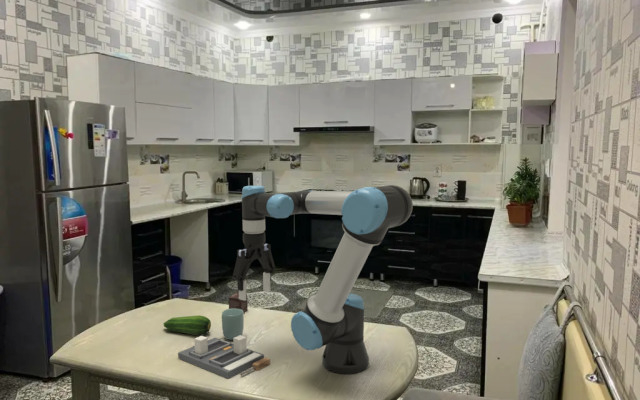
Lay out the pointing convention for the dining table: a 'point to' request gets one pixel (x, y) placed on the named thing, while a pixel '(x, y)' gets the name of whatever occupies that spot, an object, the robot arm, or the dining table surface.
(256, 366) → the screwdriver
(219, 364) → the switch board
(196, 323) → the vegetable
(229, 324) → the cup
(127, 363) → the dining table surface
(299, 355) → the dining table surface
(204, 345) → the tab
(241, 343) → the tab
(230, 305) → the box
